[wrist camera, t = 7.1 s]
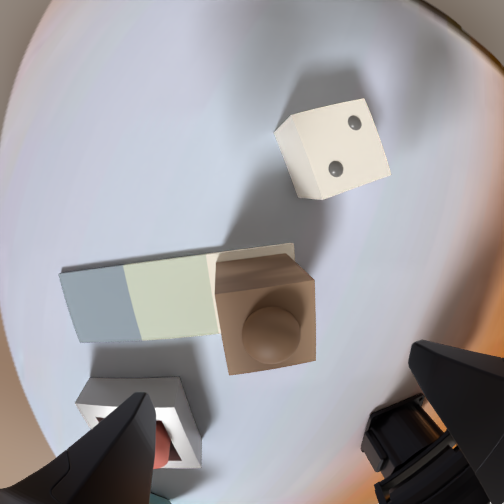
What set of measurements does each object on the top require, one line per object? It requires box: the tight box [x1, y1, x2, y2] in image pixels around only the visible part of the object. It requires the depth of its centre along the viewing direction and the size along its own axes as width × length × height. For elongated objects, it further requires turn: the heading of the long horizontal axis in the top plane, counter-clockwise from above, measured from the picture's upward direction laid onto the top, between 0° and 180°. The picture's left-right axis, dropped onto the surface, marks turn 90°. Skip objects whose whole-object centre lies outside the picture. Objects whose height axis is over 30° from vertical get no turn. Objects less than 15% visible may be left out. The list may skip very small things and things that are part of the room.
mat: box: [59, 243, 295, 343], centre depth 16 cm, size 15×5×1 cm, turn 96°
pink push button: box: [153, 420, 171, 469], centre depth 15 cm, size 4×4×4 cm
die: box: [274, 98, 391, 200], centre depth 13 cm, size 4×4×4 cm
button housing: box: [75, 377, 202, 468], centre depth 16 cm, size 7×7×3 cm
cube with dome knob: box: [215, 253, 316, 375], centre depth 13 cm, size 4×4×6 cm
